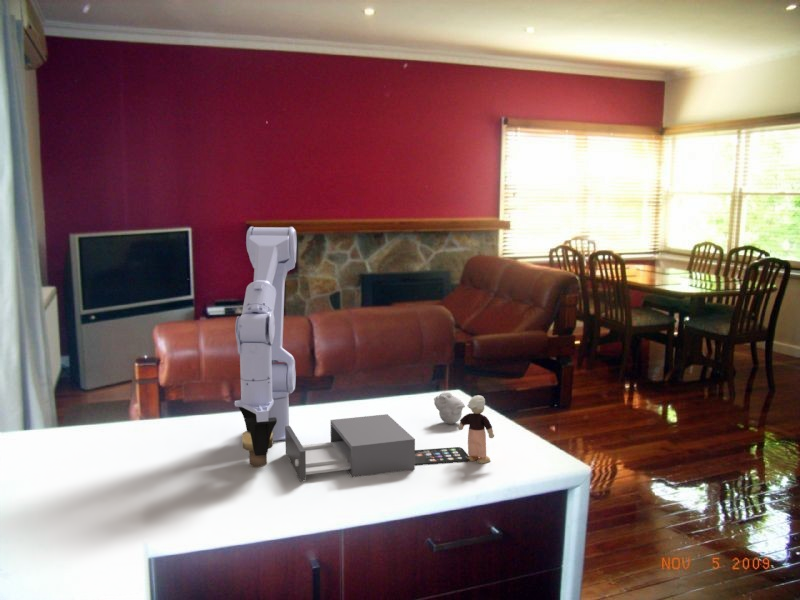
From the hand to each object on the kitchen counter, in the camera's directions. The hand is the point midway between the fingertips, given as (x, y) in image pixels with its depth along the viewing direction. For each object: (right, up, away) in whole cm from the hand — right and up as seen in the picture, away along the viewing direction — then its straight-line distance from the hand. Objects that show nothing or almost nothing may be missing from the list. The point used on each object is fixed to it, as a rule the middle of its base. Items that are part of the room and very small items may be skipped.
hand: (257, 447), depth 130 cm
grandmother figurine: (+41, -3, +3) cm, 42 cm away
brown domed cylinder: (0, -3, 0) cm, 3 cm away
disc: (0, 0, 0) cm, 0 cm away
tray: (+12, -3, 0) cm, 12 cm away
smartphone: (+33, -3, +5) cm, 33 cm away
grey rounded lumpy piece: (+38, 0, +25) cm, 45 cm away
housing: (+21, -3, +4) cm, 22 cm away
